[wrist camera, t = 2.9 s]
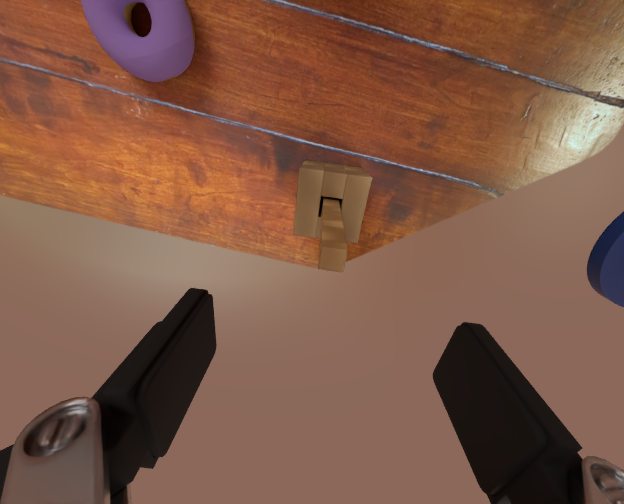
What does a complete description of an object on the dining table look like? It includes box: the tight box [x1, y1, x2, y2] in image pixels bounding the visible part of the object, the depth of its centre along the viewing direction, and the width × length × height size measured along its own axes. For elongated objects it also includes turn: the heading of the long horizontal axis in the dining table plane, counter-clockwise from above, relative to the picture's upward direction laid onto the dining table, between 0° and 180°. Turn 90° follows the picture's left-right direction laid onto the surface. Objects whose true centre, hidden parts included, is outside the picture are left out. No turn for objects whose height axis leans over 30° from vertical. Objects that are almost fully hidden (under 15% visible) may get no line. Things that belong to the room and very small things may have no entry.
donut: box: [82, 0, 195, 82], centre depth 23 cm, size 10×9×5 cm
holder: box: [293, 160, 372, 244], centre depth 28 cm, size 7×7×7 cm
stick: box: [318, 196, 348, 272], centre depth 23 cm, size 2×2×18 cm
